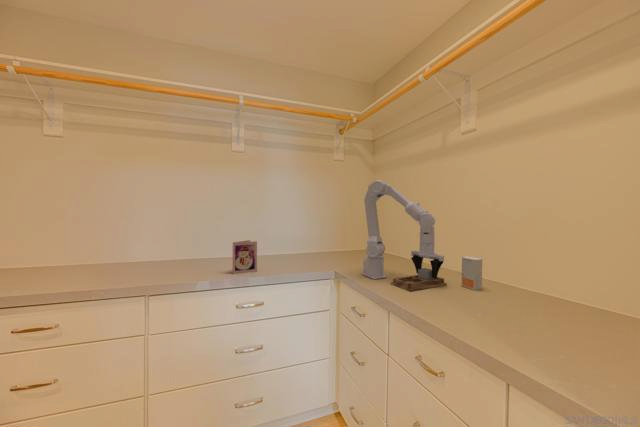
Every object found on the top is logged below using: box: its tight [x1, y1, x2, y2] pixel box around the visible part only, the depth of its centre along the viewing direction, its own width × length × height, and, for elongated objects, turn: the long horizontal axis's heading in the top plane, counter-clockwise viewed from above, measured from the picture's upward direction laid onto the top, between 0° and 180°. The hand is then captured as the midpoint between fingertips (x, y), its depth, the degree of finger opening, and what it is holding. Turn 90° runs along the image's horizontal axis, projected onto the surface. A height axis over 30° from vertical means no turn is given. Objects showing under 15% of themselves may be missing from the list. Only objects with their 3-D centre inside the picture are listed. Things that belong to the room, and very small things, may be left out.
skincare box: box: [460, 255, 483, 291], centre depth 104 cm, size 6×4×12 cm
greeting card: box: [232, 239, 258, 275], centre depth 128 cm, size 11×7×15 cm, turn 116°
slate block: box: [417, 267, 434, 281], centre depth 109 cm, size 4×4×5 cm
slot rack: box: [390, 274, 448, 293], centre depth 107 cm, size 11×20×3 cm, turn 116°
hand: (426, 275), depth 109 cm, fingers open, 7 cm apart
